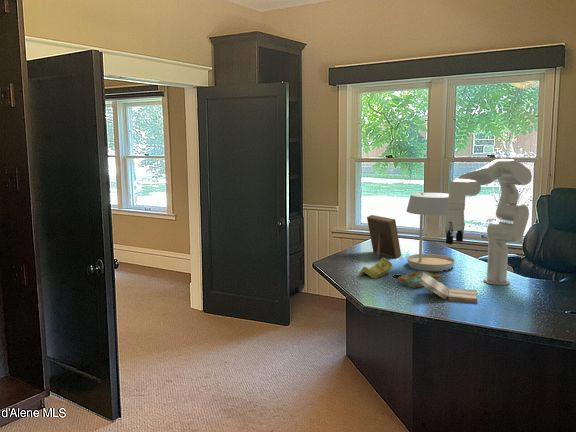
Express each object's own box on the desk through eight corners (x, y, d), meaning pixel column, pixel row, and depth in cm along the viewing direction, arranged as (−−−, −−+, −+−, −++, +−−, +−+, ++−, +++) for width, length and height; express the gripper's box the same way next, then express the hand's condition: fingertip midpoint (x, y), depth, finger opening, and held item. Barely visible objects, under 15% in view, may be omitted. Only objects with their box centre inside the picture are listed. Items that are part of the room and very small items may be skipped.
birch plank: (446, 291, 257) (448, 287, 256) (445, 299, 244) (447, 296, 243) (421, 275, 260) (423, 272, 259) (418, 282, 247) (421, 279, 246)
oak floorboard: (449, 291, 257) (449, 288, 256) (476, 294, 253) (476, 290, 252) (448, 300, 244) (448, 296, 243) (477, 303, 239) (477, 298, 239)
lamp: (449, 274, 288) (452, 197, 281) (398, 268, 302) (400, 194, 296) (461, 263, 313) (464, 192, 306) (413, 258, 327) (415, 189, 320)
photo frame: (378, 251, 347) (378, 214, 343) (401, 257, 329) (401, 218, 325) (360, 254, 340) (360, 216, 336) (383, 260, 322) (384, 220, 317)
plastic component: (376, 275, 280) (362, 265, 285) (371, 286, 284) (357, 275, 289) (395, 265, 294) (381, 255, 299) (390, 275, 298) (377, 266, 303)
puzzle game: (397, 275, 271) (422, 269, 283) (397, 284, 272) (422, 277, 284) (415, 280, 262) (440, 273, 274) (415, 289, 262) (440, 282, 274)
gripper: (457, 204, 254) (455, 239, 257) (439, 207, 242) (437, 243, 244) (472, 206, 249) (470, 241, 251) (454, 209, 237) (452, 246, 239)
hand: (454, 242), depth 248 cm, fingers open, 9 cm apart
